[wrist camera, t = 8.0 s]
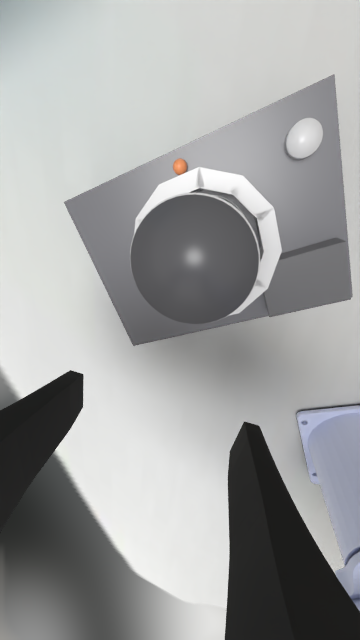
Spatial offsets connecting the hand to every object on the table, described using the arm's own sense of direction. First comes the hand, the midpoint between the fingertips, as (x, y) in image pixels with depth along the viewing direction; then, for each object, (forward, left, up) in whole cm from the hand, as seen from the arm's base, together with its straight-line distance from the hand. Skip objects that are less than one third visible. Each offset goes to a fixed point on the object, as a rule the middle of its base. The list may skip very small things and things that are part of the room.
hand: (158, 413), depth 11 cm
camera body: (+5, -3, -10) cm, 11 cm away
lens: (+6, -3, -7) cm, 9 cm away
